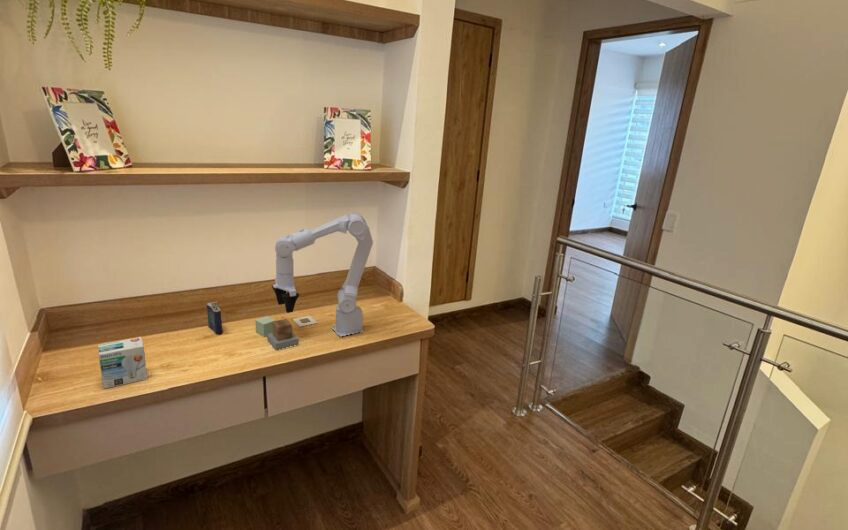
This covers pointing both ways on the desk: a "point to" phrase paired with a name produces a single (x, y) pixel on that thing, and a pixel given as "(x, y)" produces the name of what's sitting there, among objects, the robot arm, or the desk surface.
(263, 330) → the sage block
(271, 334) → the slate slab
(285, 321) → the walnut block
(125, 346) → the light bulb box
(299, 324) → the placard
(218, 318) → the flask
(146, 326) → the desk surface
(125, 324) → the desk surface
